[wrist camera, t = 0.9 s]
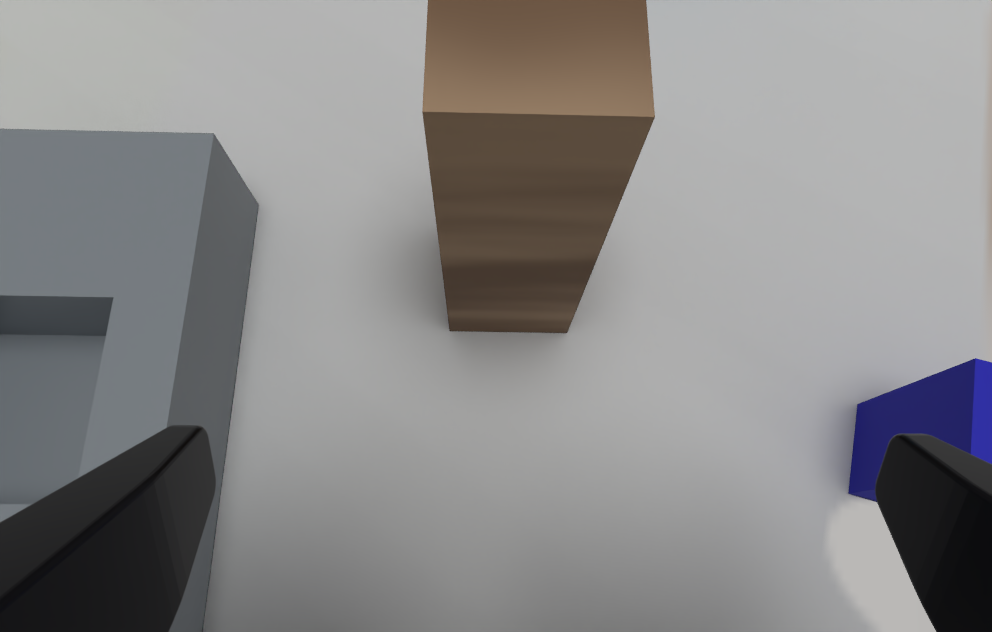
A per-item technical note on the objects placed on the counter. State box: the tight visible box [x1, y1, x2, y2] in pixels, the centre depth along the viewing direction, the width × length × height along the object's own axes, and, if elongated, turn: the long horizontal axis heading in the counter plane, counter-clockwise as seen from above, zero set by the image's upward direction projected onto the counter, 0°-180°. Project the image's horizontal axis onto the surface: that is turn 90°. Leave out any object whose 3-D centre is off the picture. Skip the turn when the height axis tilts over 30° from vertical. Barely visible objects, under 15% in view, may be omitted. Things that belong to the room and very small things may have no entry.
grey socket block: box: [0, 129, 258, 632], centre depth 20 cm, size 16×10×4 cm, turn 179°
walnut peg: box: [423, 0, 655, 333], centre depth 19 cm, size 4×4×12 cm
